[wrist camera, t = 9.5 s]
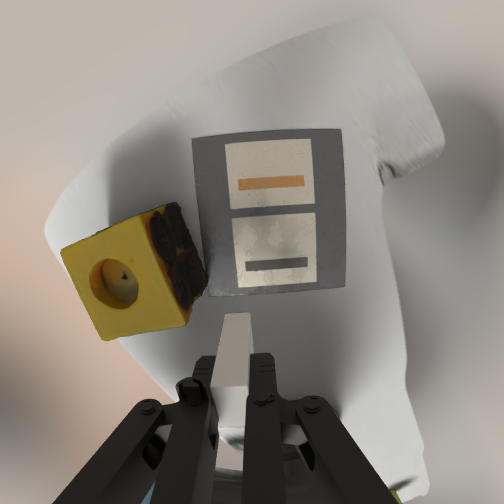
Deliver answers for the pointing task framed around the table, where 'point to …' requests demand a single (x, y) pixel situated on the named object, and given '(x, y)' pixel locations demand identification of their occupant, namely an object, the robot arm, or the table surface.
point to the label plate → (271, 211)
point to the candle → (138, 274)
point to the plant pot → (396, 496)
